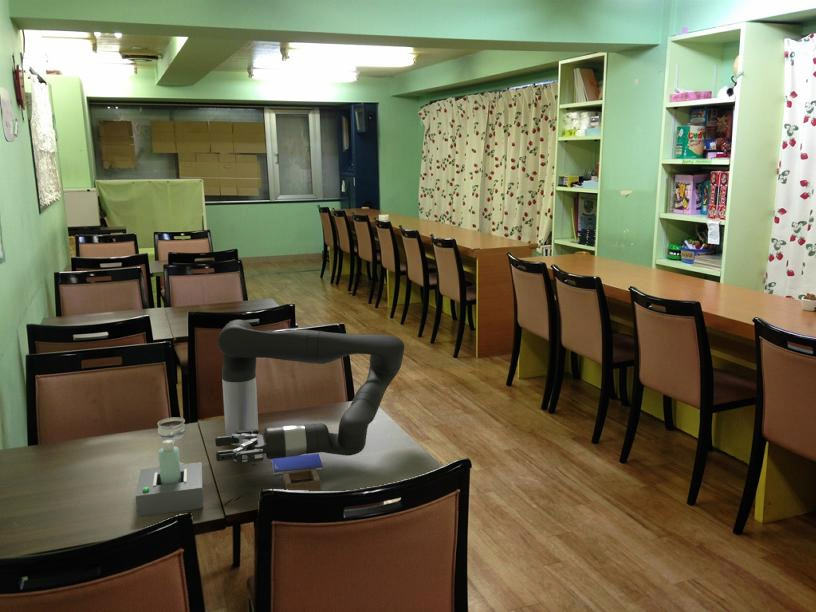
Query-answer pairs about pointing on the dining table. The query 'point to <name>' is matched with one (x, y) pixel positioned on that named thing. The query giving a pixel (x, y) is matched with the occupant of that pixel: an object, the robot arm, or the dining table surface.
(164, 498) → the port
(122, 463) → the dining table surface
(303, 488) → the box
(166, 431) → the wineglass
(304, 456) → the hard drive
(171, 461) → the mint green bottle
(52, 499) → the dining table surface
